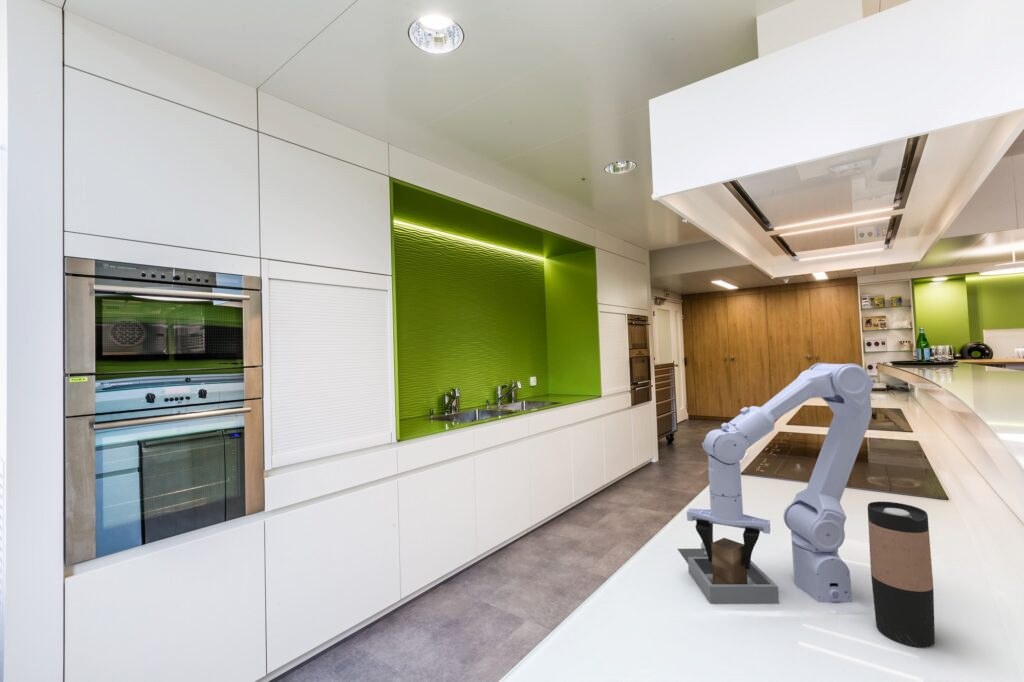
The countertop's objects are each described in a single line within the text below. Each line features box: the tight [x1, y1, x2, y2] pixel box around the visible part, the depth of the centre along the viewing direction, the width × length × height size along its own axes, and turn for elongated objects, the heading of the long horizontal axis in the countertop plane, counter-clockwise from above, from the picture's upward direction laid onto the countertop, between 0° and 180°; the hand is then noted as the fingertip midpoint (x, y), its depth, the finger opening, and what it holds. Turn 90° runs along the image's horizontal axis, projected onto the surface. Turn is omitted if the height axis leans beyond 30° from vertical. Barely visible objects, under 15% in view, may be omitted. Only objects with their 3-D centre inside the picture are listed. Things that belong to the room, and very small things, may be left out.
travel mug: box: [867, 501, 936, 649], centre depth 73 cm, size 8×8×20 cm
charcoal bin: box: [687, 557, 780, 605], centre depth 87 cm, size 12×12×4 cm
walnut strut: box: [711, 537, 749, 584], centre depth 87 cm, size 4×4×8 cm
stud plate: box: [677, 541, 708, 564], centre depth 99 cm, size 10×10×5 cm
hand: (729, 563), depth 87 cm, fingers closed on walnut strut, 6 cm apart
